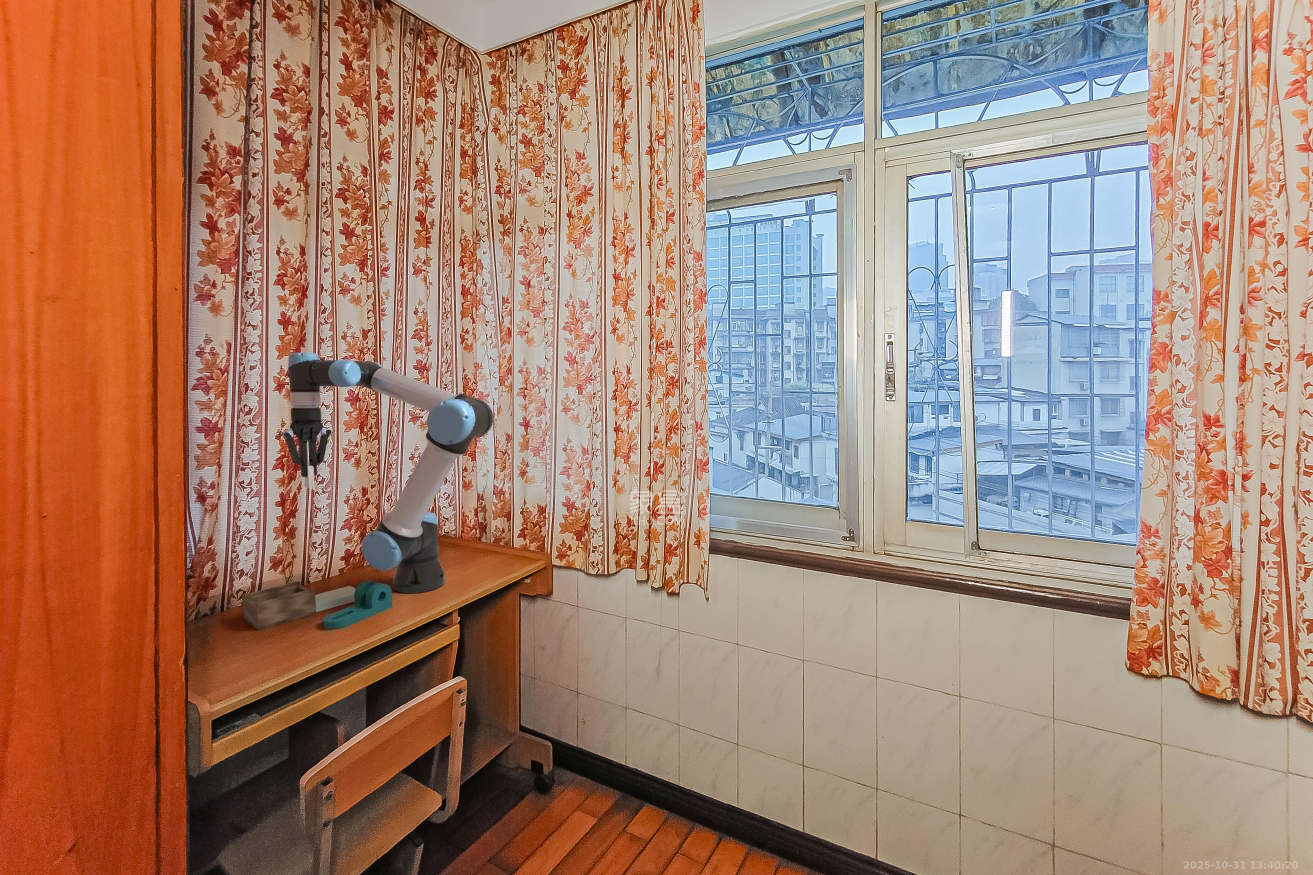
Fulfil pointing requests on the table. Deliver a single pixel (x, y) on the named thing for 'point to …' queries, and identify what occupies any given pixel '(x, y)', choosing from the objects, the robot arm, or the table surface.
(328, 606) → the lid
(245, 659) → the table surface
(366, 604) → the bracket
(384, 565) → the robot arm
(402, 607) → the table surface
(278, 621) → the box
